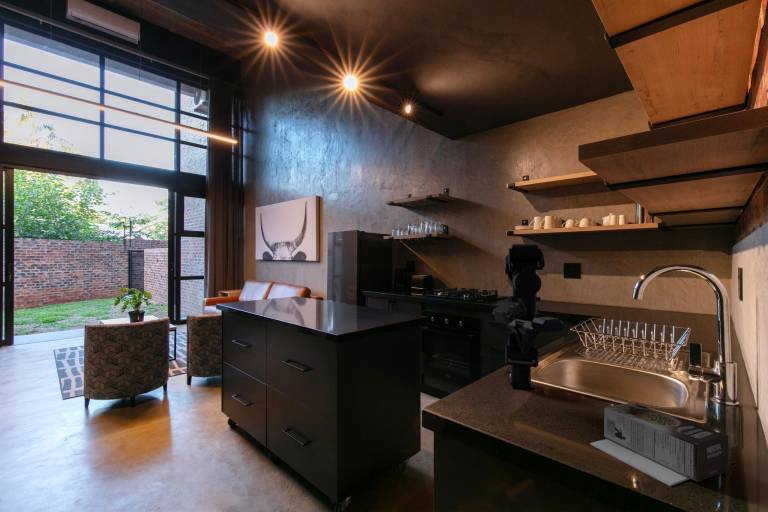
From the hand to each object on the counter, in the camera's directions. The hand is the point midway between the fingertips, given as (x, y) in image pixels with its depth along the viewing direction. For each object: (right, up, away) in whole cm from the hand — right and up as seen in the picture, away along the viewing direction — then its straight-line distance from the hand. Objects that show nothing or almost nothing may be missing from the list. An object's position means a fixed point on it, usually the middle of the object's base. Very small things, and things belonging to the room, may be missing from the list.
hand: (524, 353), depth 89 cm
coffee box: (+13, -9, -15) cm, 22 cm away
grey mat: (+14, -13, -23) cm, 30 cm away
